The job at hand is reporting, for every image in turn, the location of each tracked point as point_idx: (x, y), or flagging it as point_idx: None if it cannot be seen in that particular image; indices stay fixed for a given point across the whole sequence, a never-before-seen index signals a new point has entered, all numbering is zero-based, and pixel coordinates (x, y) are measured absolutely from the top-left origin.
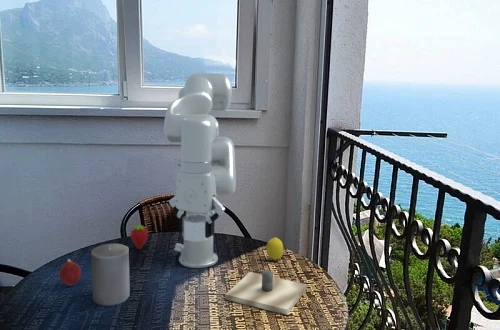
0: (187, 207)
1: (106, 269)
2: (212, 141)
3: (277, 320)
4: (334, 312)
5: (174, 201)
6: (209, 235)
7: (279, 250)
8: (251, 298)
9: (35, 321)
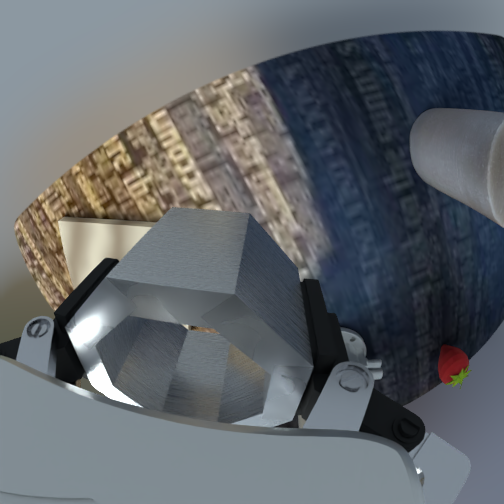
0: (168, 472)
1: (488, 111)
2: None
3: (67, 191)
4: (29, 254)
5: (426, 488)
6: None
7: None
8: (124, 233)
9: (488, 45)
